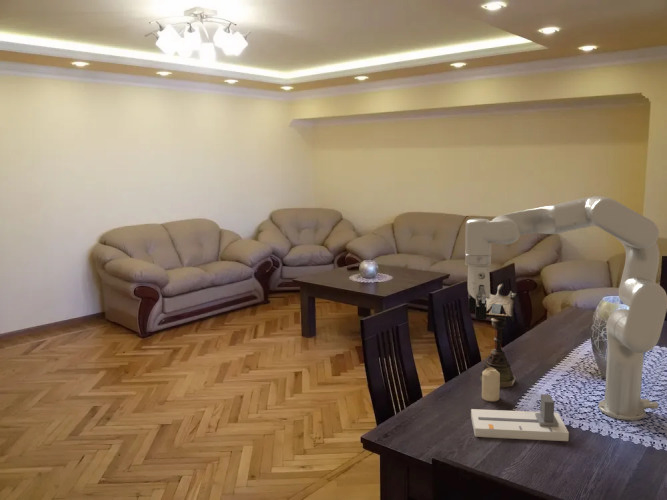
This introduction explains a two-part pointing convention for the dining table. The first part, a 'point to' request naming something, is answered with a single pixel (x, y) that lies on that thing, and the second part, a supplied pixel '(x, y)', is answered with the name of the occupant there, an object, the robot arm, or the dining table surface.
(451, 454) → the dining table surface
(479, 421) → the fader console
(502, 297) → the bird statue
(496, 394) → the candle
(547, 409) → the fader tab
